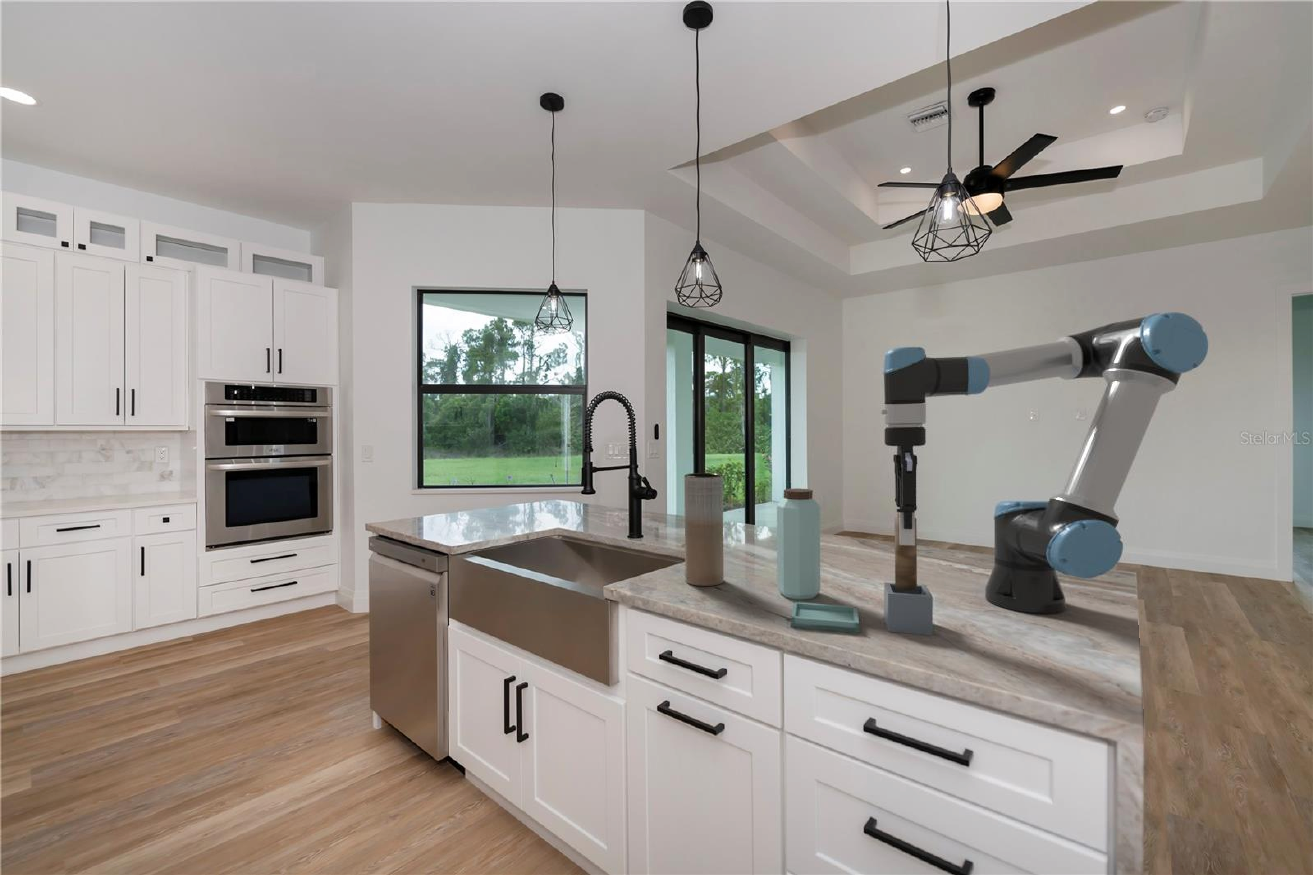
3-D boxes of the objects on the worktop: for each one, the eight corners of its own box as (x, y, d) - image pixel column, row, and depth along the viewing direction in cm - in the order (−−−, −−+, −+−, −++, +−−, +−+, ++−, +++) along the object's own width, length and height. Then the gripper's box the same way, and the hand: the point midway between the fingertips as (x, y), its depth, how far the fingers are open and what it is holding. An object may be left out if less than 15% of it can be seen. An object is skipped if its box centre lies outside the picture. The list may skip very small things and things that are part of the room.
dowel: (915, 585, 116) (914, 516, 116) (918, 590, 112) (917, 520, 112) (894, 583, 117) (893, 516, 117) (896, 589, 114) (895, 519, 113)
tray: (856, 616, 121) (856, 606, 121) (859, 633, 111) (859, 623, 111) (793, 610, 125) (793, 601, 125) (790, 627, 115) (790, 617, 115)
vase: (682, 576, 153) (681, 473, 152) (719, 575, 154) (718, 472, 153) (688, 587, 143) (687, 477, 142) (727, 586, 144) (726, 476, 143)
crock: (925, 621, 118) (925, 585, 117) (932, 635, 110) (932, 596, 110) (884, 617, 120) (884, 582, 120) (888, 631, 112) (888, 593, 112)
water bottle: (822, 601, 131) (821, 493, 130) (777, 599, 133) (776, 492, 132) (818, 589, 140) (818, 487, 140) (777, 587, 142) (776, 487, 142)
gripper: (880, 425, 123) (881, 533, 124) (889, 427, 107) (890, 551, 108) (918, 424, 121) (919, 534, 122) (933, 426, 105) (933, 553, 105)
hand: (905, 542), depth 115 cm, fingers closed on dowel, 4 cm apart
